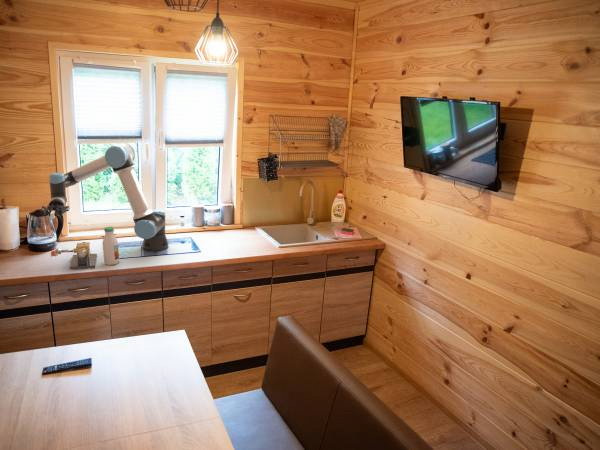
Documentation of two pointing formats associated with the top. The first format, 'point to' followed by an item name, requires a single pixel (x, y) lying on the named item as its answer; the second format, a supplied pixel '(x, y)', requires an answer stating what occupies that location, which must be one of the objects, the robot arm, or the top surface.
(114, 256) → the milk bottle
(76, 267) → the valve stand
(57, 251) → the valve lever
